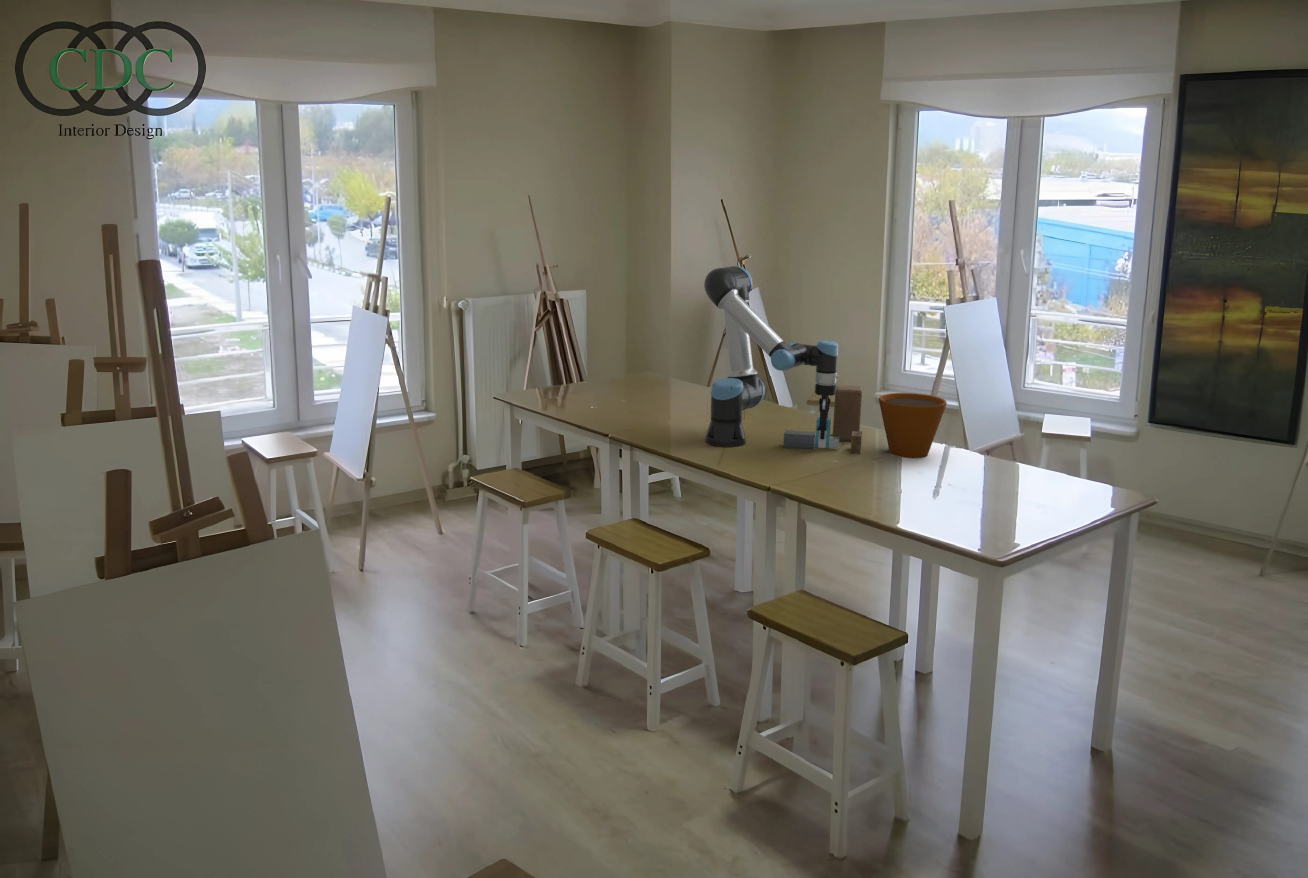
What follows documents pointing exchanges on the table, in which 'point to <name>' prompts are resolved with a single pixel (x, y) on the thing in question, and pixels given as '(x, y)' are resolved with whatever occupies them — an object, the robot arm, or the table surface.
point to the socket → (856, 442)
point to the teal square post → (830, 440)
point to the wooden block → (847, 411)
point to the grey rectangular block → (799, 439)
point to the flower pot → (911, 422)
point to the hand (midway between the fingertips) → (822, 445)
